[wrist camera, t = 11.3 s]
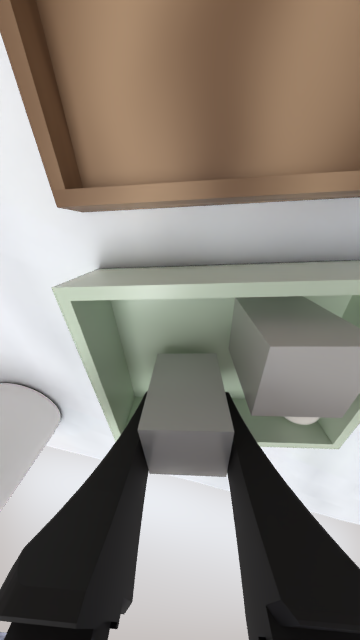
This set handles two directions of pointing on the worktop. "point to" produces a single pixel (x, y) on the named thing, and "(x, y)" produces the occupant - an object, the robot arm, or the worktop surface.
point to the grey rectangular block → (294, 357)
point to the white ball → (303, 420)
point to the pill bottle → (22, 433)
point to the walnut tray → (189, 99)
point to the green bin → (196, 331)
